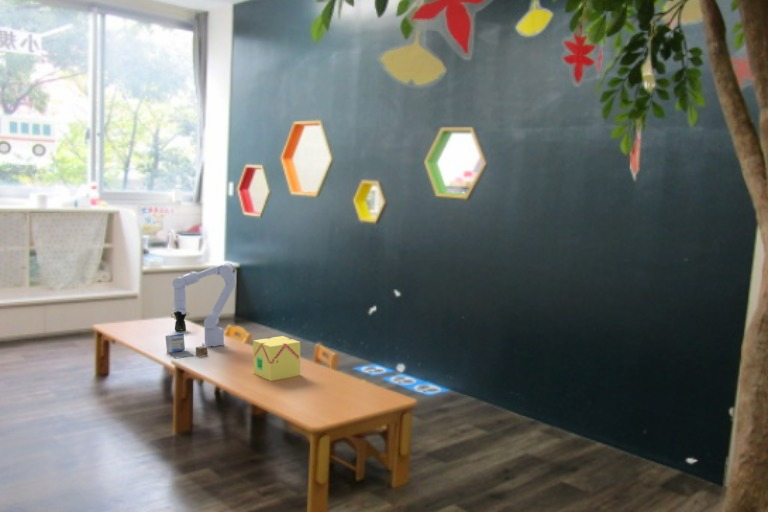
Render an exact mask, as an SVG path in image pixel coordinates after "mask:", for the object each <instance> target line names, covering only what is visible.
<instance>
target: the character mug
mask: <svg viewBox="0 0 768 512" xmlns="http://www.w3.org/2000/svg"><path fill="white" fill-rule="evenodd" d="M174 312H177V311H175V310H173V312H170V318H171V319H173V320H175V323H174V330H175V331H177V332H180V331H186V330H187V324H186V321H185V320H186V319H187V317H190V310H186V313H187V314H186V316H185V319H184V323H183V326H178V324H177V320H176V317H175V315H174Z"/></svg>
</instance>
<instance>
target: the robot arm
mask: <svg viewBox="0 0 768 512" xmlns="http://www.w3.org/2000/svg"><path fill="white" fill-rule="evenodd" d="M212 275H216V276H219V275H220V276H221V278H223V281H224V283H225V284H224V287H223V289H222V291H221V292H220V294H219V296H218V298H217V300H216V303H215V304H214V306H213V308H212V310H211V312H210V313H209V315H208V316H207V317H206V318H205V319H204V320H203V326H204V342H202V346H205V347H207V348H211V346H212V347H217V346H218V347H220V346H224V345H225V340H224V339H225V338H224V337H225V335H224V333H225V332H224V329H223V328H222V327H220V326H219V325H218V324H219V323H220V316H221V313H222V312H223V310H224V308H225V306H226V305H227V302H228V300H229V298H230V296H231V295H232V292H233V290H234V289H235V287H236V284H237V279H236V278H237V277H236V269H235V267H234V266H233V264H231V263H229V262H227V263H224V264H219V265H214V266H211V267H210V268H209V267H208V268H207V269H204V270H202V271H199V272H197V271H189V272H188V273H186V274H181V275H180V276H178V277H176V278H174V279H173V281H172V287H173V305H174V306H173V307H174V308H171V310H172V311H173V312H174V310H175V311H177V312H174V314H173V316H174V315H175V317H176V320H177V324H178V326H183V323H184V321H185V320H186V319H185V316H186V314H187V315H188V312H186V311H187V306H186V303H187V302H186V300H187V299H186V287H187V286H190V285H193V284H196V283H198V282H199V281H200V279H203V278H206V277H209V276H212ZM184 319H185V320H184ZM176 320H175V321H176ZM219 345H220V346H219Z"/></svg>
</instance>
